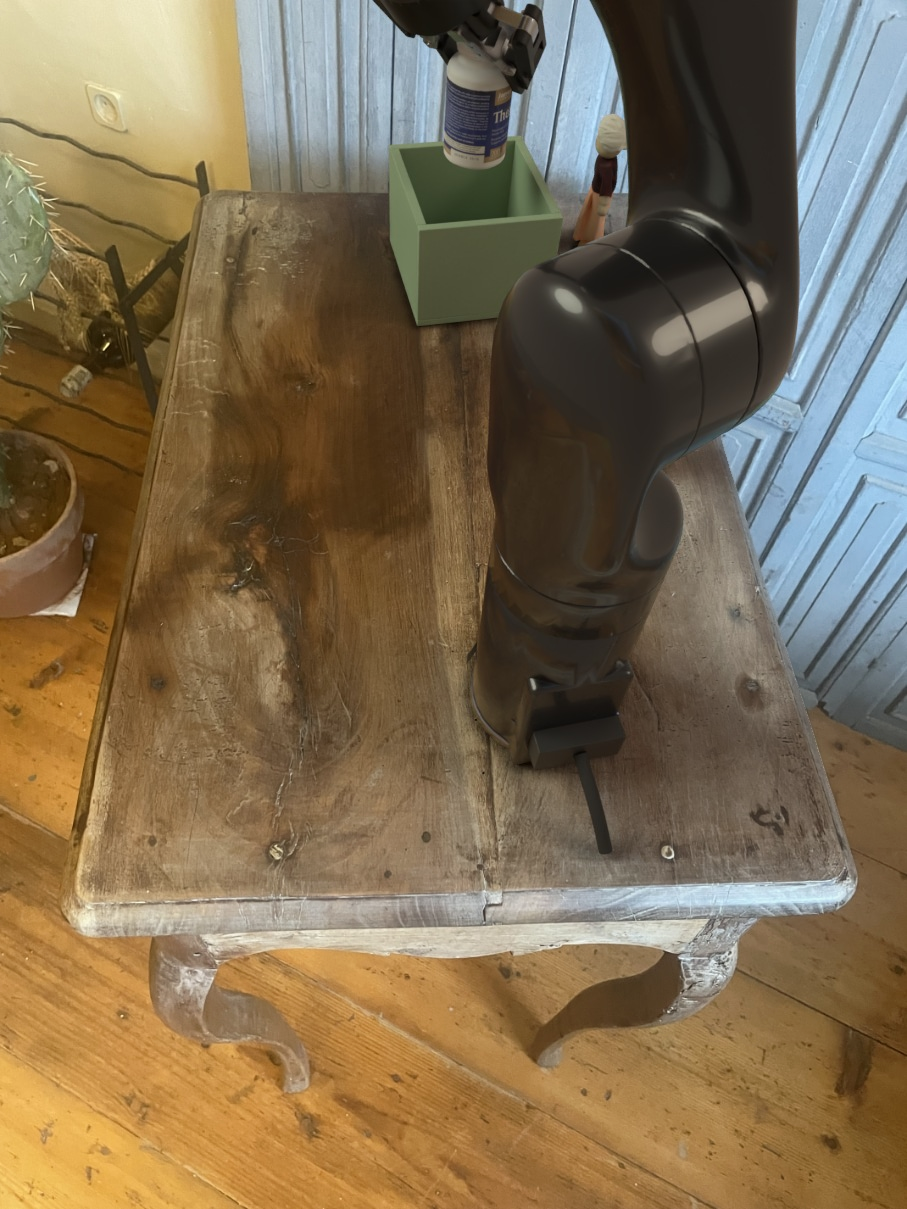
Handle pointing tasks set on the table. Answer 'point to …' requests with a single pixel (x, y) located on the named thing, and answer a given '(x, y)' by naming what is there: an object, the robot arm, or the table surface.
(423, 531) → the table surface
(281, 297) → the table surface
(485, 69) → the pill bottle
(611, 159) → the grandmother figurine
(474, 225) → the bin
